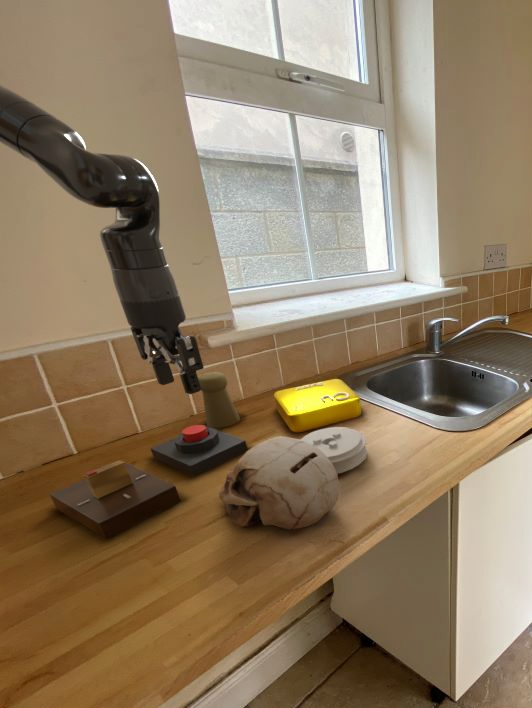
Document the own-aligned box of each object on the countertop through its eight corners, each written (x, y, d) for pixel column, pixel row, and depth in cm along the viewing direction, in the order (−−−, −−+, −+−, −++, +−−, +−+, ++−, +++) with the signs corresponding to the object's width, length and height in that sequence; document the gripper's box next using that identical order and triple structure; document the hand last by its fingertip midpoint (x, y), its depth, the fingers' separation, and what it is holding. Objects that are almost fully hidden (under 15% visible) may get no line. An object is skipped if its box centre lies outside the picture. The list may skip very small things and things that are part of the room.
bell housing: (153, 458, 83) (146, 439, 81) (208, 434, 91) (203, 417, 90) (194, 476, 79) (187, 457, 77) (248, 449, 87) (243, 432, 85)
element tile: (341, 393, 112) (338, 375, 110) (364, 415, 102) (362, 396, 100) (275, 408, 103) (271, 389, 101) (293, 435, 93) (288, 414, 91)
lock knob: (128, 480, 72) (118, 458, 70) (133, 483, 72) (123, 460, 70) (93, 496, 68) (82, 473, 66) (97, 499, 68) (87, 476, 66)
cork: (199, 424, 95) (184, 377, 90) (225, 412, 100) (212, 367, 95) (221, 430, 93) (206, 382, 88) (246, 417, 98) (234, 371, 94)
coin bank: (233, 488, 76) (222, 420, 70) (343, 482, 82) (341, 419, 76) (203, 558, 63) (186, 480, 57) (337, 545, 68) (334, 474, 63)
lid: (287, 457, 85) (281, 434, 83) (352, 437, 93) (349, 415, 91) (308, 489, 77) (303, 465, 75) (378, 464, 85) (376, 441, 82)
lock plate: (57, 509, 70) (48, 493, 68) (131, 476, 78) (125, 461, 77) (106, 539, 65) (98, 522, 63) (181, 500, 73) (175, 484, 71)
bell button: (180, 439, 83) (177, 431, 82) (200, 431, 86) (198, 423, 85) (192, 444, 81) (189, 436, 81) (212, 435, 84) (210, 427, 84)
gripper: (201, 296, 72) (227, 388, 79) (149, 285, 78) (178, 372, 85) (149, 305, 66) (182, 404, 73) (96, 292, 71) (132, 386, 79)
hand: (180, 387), depth 79 cm, fingers open, 7 cm apart
